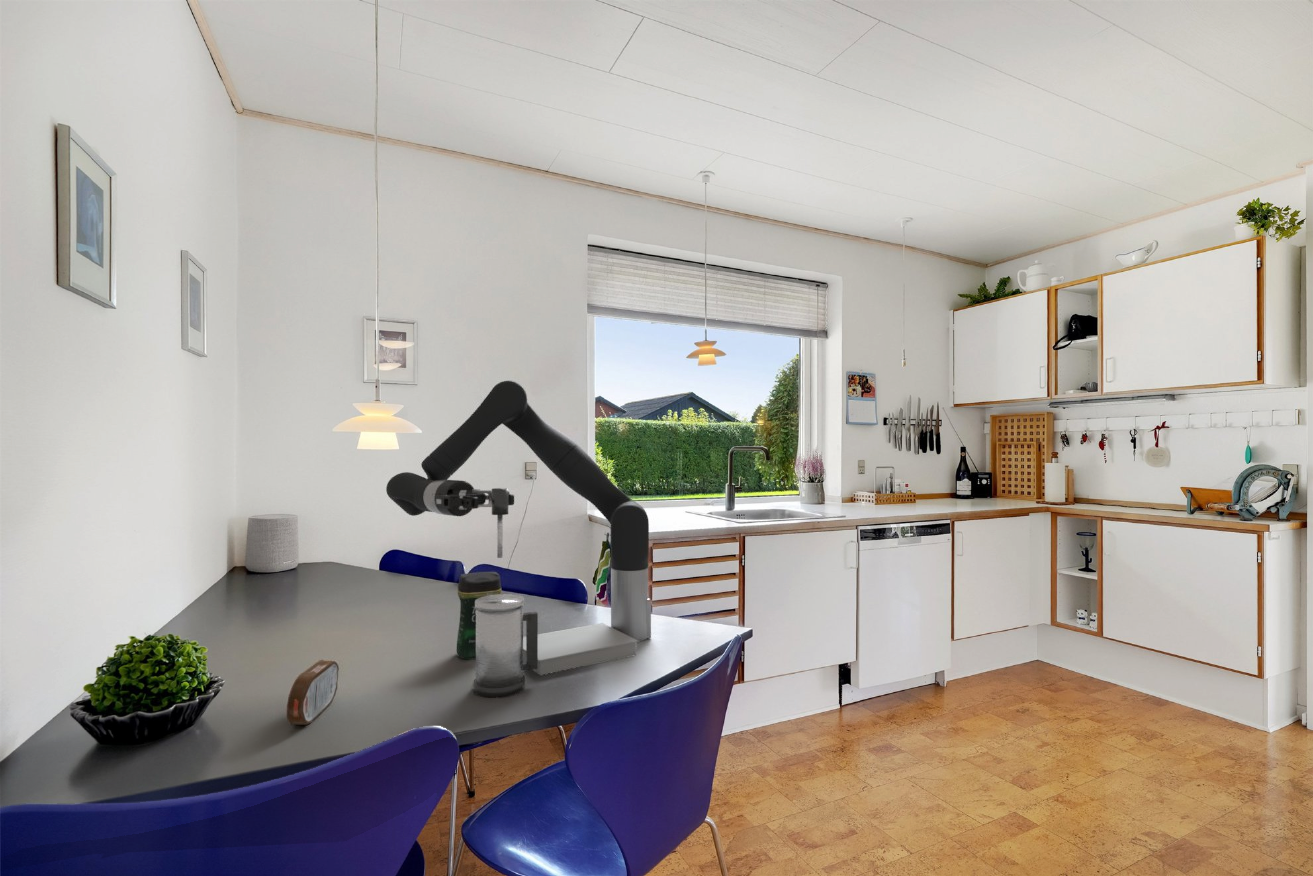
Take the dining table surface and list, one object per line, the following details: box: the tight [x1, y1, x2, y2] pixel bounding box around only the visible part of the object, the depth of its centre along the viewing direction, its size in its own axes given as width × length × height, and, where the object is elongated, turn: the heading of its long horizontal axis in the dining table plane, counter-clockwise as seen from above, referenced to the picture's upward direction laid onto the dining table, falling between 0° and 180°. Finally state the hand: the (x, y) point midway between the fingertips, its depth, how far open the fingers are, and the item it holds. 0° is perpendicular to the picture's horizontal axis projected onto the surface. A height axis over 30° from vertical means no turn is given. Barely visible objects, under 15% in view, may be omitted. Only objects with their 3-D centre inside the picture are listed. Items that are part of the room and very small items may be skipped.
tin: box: [286, 659, 340, 726], centre depth 112 cm, size 15×3×8 cm, turn 5°
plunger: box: [491, 487, 509, 559], centre depth 124 cm, size 3×3×14 cm
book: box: [523, 622, 639, 676], centre depth 144 cm, size 18×4×24 cm
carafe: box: [473, 593, 539, 699], centre depth 124 cm, size 12×10×17 cm
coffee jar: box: [456, 571, 502, 660], centre depth 144 cm, size 10×8×19 cm
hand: (495, 501), depth 125 cm, fingers open, 8 cm apart
